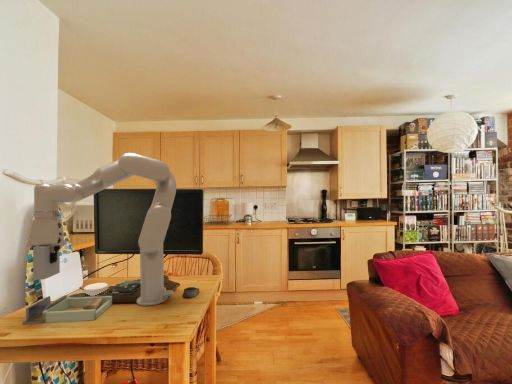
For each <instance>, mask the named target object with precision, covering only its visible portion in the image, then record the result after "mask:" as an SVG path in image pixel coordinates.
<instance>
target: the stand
mask: <svg viewBox="0 0 512 384" xmlns="http://www.w3.org/2000/svg"><path fill="white" fill-rule="evenodd" d="M67 297H68V296H67V295H63V296H61V297H60V298H58V299H56V300H55V301H53V302H51V296H49V295H48V296H47V297H44V298H42V299H41V300H38V301H37V302H35V303H33V304H31V305H30V306H27V307H26V308H25V320H24V321H22V322H21V323H22V325H34V324H35V325H36V324H37V325H39V324H45V321H43V319H39V320H38V319H36V318H38V317H39V316H41V315H43V311H45V310H48V309H50V308H51V307H53V306H55V305H56V304H58V303H60V302H61V301H63V300H64V299H66V298H67Z"/></svg>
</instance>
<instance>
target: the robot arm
mask: <svg viewBox="0 0 512 384" xmlns="http://www.w3.org/2000/svg"><path fill="white" fill-rule="evenodd" d="M171 171H172V170H171ZM171 171H170V168H169V165H168V164H167V163H166V162H164V161H162V160H159V159H155V158H153V157H148V156H145V155H141V154H138V153H135V152H125V153H123V154H122V155H120V157H119V158H118V159H116V160H114V161H111V162H109V163H108V164H105V165H103V166H100V167H99V168H96V170H95V171H94V172H93V173H92V174H91V175H89V176H88V177H85V178H84V179H81V180H78V181H77V182H74V183H58V184H53V183H51V184H49V183H48V184H47V183H43V184H41V183H40V184H36V185H34V188H33V199H34V201H33V202H34V203H33V208H34V209H33V210H34V211H33V212H34V213H33V214H34V215H33V217H34V219H33V220H32V222H31V226H30V233H29V240H28V242H27V243H26V246H27V247H28V248H29V249H31V250H32V251H33V247H37V246H41V245H50V248H51V253H50V263H54V262H57V252H58V251H59V252H60V250H61V248H63V247H65V246H66V245H67V241H65V235H64V234H65V233H64V227H63V226H64V225H63V222H62V219H61V218H59V217H61V216H62V212H60V211H59V203H67V204H68V203H76V202H80V201H82V200H84V199H86V198H89V197H91V196H93V195H95V194H97V193H99V192H101V191H103V190H106V189H107V188H109V187H111V186H114V185H116V184H118V183H119V182H122V181H124V180H127V179H129V178H131V177H133V176H138V177H141V178H144V179H148V180H149V179H150V180H152V181H154V182H155V184H156V188H155V192H154V196H153V199H152V202H151V205H150V207H149V208H148V209H147V213H146V215H145V218H144V221H143V224H142V228H141V231H140V234H139V237H138V242H137V243H138V247H139V272H140V273H139V275H140V276H139V277H140V279H139V281H140V289H139V290H140V296H139V297H138V298H137V299H136V303H137V305H139V306H143V307H144V306H145V307H146V306H155V305H159V304H162V303H165V302H166V301H167V300H168V297H174V296H175V291H173V290H172V289H171V290H170V289H169V290H167V288H166V286H165V283H164V282H165V279H164V277H165V274H164V273H165V272H164V270H165V269H164V264H165V263H164V242H165V239H166V236H167V231H168V229H169V226H170V224H171V223H170V222H171V218H172V212H171V211H172V208H173V205H174V201H175V197H176V194H177V193H176V192H177V181H176V178H175V176H174V174H173V173H172V172H171ZM58 243H59V245H58Z"/></svg>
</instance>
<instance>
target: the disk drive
mask: <svg viewBox="0 0 512 384" xmlns="http://www.w3.org/2000/svg"><path fill="white" fill-rule="evenodd" d="M139 287H140V280H125V281H124V282H123V281H122V282H120V284H118V285H117V286H115V287H114V288H112V289H110V290H108V292H109V293H132V292H133V291H134V290H136V289H137V288H139ZM109 293H108V294H109Z"/></svg>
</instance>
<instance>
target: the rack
mask: <svg viewBox="0 0 512 384" xmlns="http://www.w3.org/2000/svg"><path fill="white" fill-rule="evenodd" d="M101 298H102V304H103V305H102V306H101V307H100V308H99V309H97V310H96V309H90V310H84V309H75V310H71V309H70V310H68V309H69V308H84V305H85V304H87V303H88V302H89V301H90V300H91V299H101ZM112 305H113V295H105V296H104V295H103V296H101V295H98V296H84V297H83V296H82V297H71V296H67V298H66V299H64V300H63V301H61V302H60V303H58V304H56V305H55V306H53V307H51V308H50V309H48V310H45V311H43V314H42V320H43V321H45V323H46V324H48V323H49V324H50V323H63V322H66V323H67V322H81V321H82V322H84V321H85V322H86V321H95V320H96V319H98V317H100V316H101V315H103V314H104V312H106V310H108V309H109V308H110V307H111V306H112ZM45 323H44V324H45Z"/></svg>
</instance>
